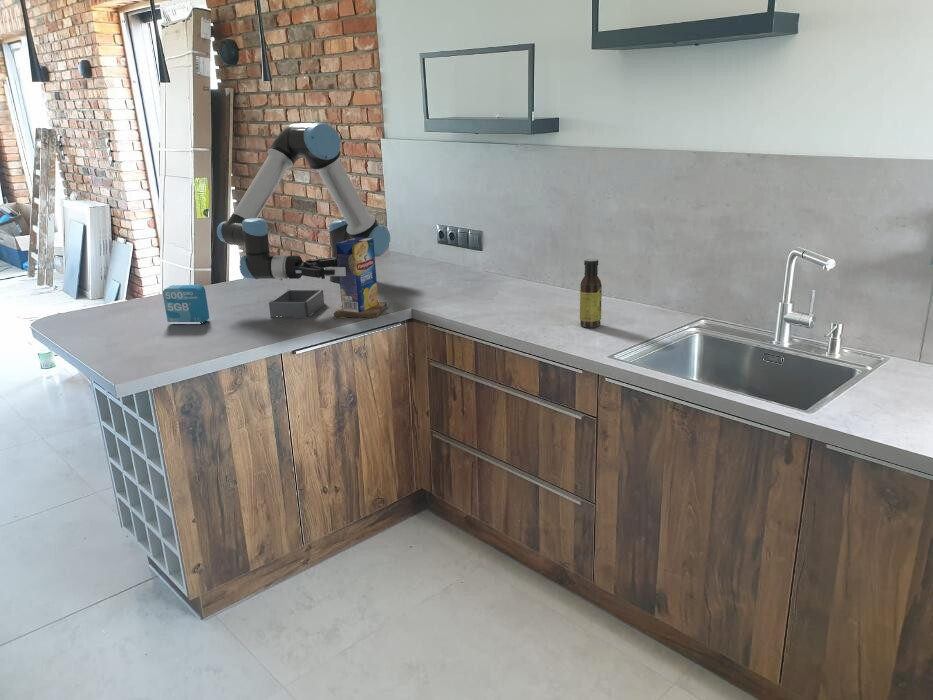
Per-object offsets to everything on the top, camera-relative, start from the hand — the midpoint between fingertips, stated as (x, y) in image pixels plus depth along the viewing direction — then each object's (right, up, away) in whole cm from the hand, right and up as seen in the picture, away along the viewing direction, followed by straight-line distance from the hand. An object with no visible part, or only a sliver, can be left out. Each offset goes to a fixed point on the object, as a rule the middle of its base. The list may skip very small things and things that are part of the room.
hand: (351, 266), depth 229 cm
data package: (-52, -18, -1) cm, 55 cm away
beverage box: (+2, -13, +5) cm, 14 cm away
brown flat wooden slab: (+2, -14, +5) cm, 15 cm away
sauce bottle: (+74, -20, -17) cm, 78 cm away
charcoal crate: (-19, -14, +9) cm, 25 cm away
